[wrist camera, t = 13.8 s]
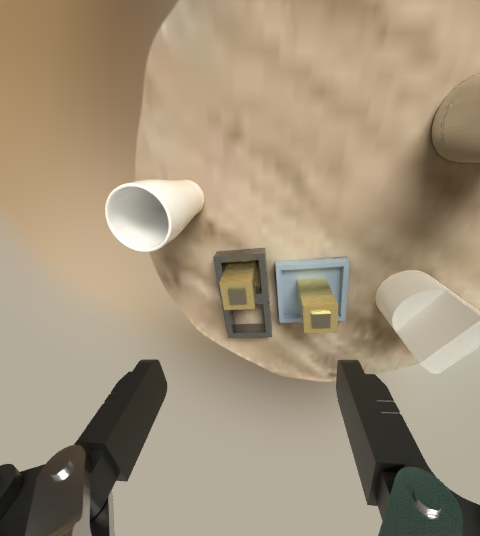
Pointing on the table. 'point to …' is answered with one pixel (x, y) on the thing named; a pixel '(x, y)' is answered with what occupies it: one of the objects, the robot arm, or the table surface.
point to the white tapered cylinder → (152, 212)
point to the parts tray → (308, 269)
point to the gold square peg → (317, 306)
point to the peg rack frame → (261, 296)
